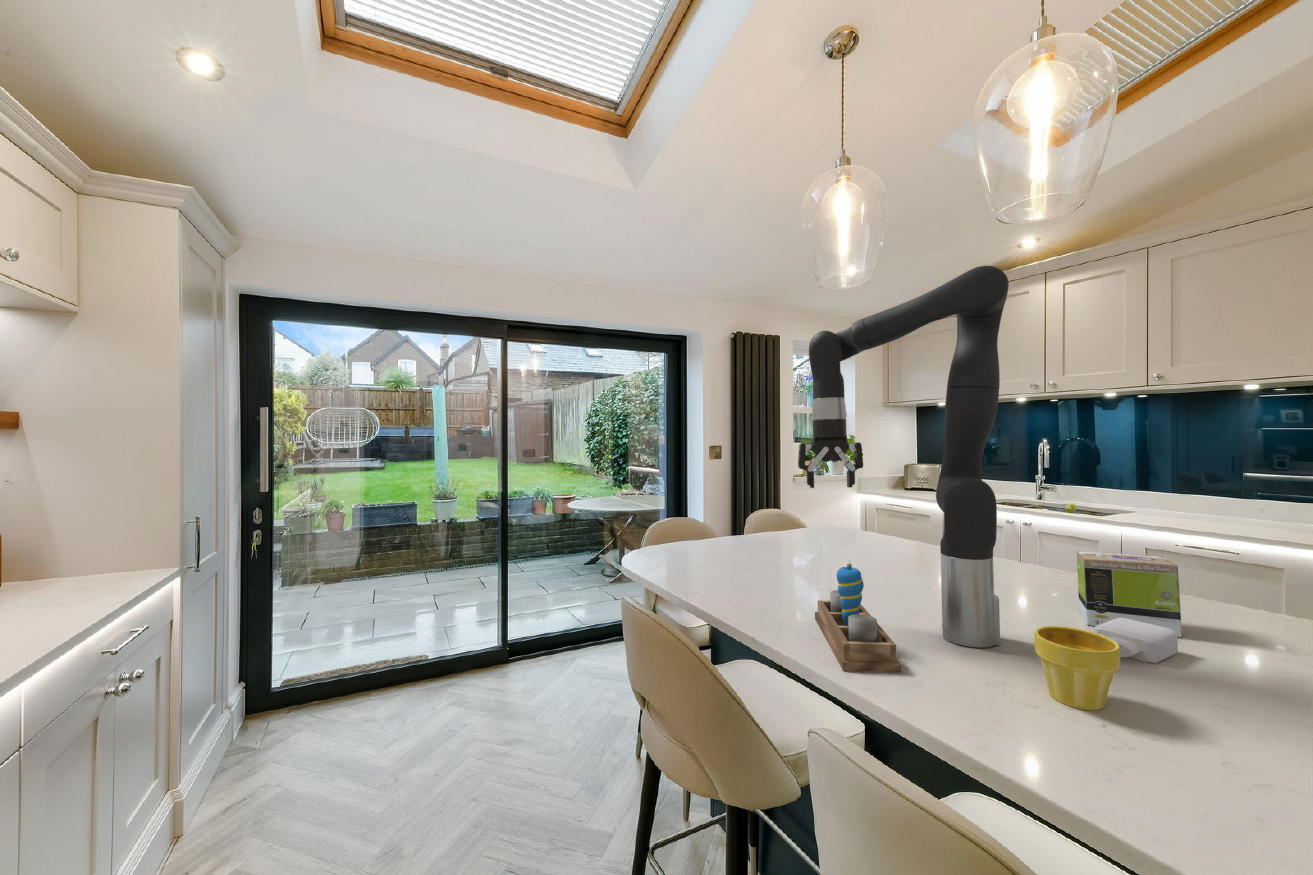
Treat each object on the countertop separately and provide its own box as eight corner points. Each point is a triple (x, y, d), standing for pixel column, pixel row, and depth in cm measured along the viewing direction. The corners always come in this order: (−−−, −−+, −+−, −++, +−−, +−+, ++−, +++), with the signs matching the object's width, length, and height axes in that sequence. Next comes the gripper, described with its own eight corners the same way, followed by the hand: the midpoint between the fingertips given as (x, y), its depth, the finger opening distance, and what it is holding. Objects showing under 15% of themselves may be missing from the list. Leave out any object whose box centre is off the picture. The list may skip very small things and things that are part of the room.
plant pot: (1130, 725, 72) (1128, 656, 72) (1039, 706, 78) (1037, 642, 78) (1113, 694, 81) (1111, 632, 81) (1032, 679, 87) (1031, 621, 87)
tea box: (1167, 623, 111) (1165, 555, 111) (1182, 639, 102) (1180, 565, 102) (1077, 612, 119) (1076, 548, 119) (1085, 626, 110) (1083, 557, 110)
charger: (1078, 655, 96) (1115, 639, 103) (1142, 674, 88) (1178, 655, 95) (1077, 629, 96) (1115, 615, 103) (1141, 646, 88) (1177, 630, 95)
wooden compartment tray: (859, 619, 117) (859, 586, 117) (901, 672, 90) (900, 630, 90) (814, 618, 118) (814, 585, 118) (842, 670, 91) (841, 628, 91)
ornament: (850, 640, 101) (851, 564, 101) (830, 632, 105) (831, 559, 105) (868, 636, 103) (869, 562, 103) (848, 628, 108) (848, 556, 108)
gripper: (856, 418, 122) (858, 485, 122) (795, 419, 124) (796, 486, 124) (865, 416, 115) (867, 488, 114) (800, 418, 116) (801, 489, 116)
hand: (830, 487), depth 119 cm, fingers open, 8 cm apart
